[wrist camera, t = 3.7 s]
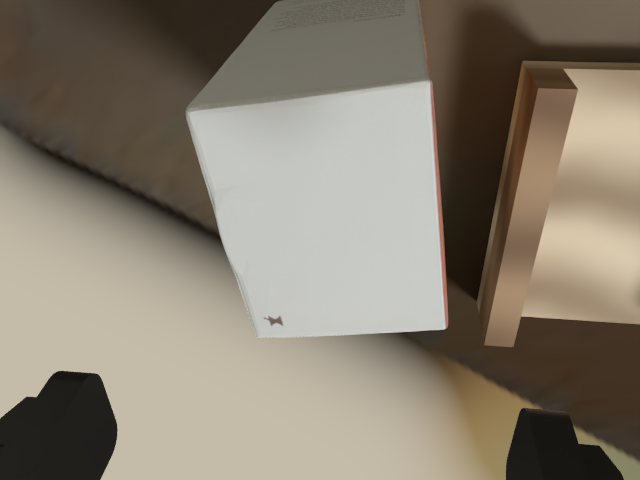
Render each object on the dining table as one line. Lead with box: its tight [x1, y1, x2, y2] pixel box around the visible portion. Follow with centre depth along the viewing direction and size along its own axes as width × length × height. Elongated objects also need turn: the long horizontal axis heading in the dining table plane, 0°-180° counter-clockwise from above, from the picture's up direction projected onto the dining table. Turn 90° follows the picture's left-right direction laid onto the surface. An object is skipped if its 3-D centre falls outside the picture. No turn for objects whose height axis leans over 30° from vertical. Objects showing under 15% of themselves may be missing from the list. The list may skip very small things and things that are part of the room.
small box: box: [186, 0, 448, 338], centre depth 21 cm, size 8×6×13 cm
